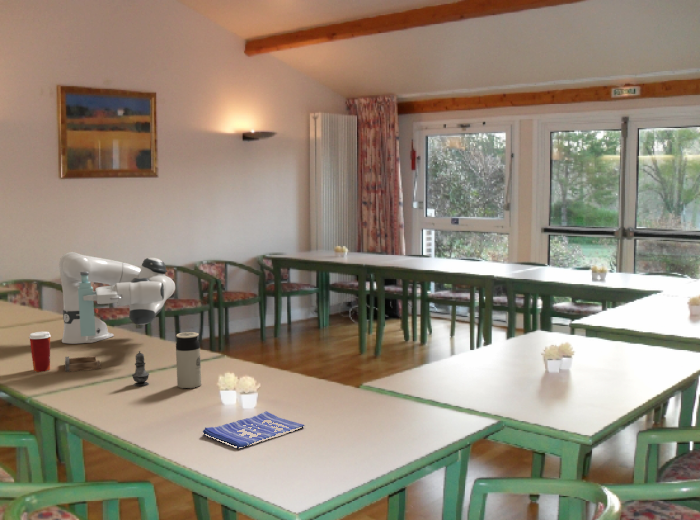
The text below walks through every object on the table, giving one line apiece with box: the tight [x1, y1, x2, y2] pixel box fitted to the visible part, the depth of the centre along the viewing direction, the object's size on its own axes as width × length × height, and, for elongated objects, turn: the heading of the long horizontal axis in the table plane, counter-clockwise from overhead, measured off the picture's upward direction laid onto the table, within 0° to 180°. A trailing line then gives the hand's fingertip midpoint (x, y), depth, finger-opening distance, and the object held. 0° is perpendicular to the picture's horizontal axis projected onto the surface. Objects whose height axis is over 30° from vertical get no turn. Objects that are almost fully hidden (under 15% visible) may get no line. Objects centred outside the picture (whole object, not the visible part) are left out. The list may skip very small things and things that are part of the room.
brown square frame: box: [64, 355, 101, 373], centre depth 285 cm, size 12×12×3 cm
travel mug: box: [175, 331, 202, 389], centre depth 256 cm, size 8×8×18 cm
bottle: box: [78, 272, 95, 337], centre depth 284 cm, size 5×5×24 cm
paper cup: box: [28, 331, 52, 373], centre depth 280 cm, size 8×8×14 cm
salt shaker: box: [131, 350, 150, 388], centre depth 259 cm, size 6×6×12 cm
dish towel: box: [202, 410, 306, 448], centre depth 209 cm, size 17×24×3 cm
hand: (83, 296), depth 283 cm, fingers closed on bottle, 5 cm apart
